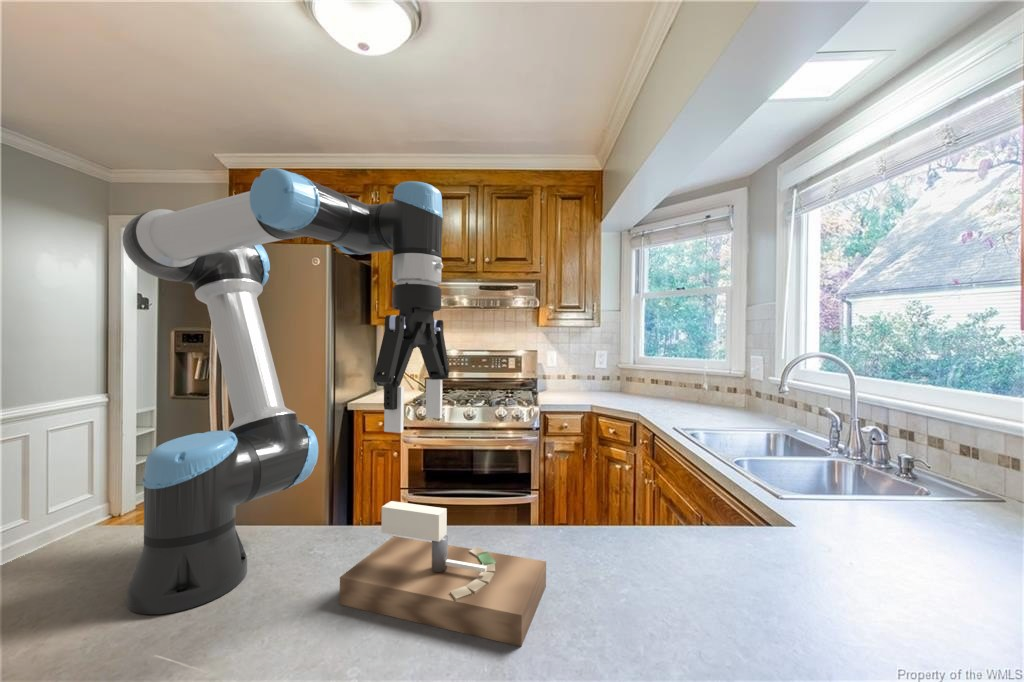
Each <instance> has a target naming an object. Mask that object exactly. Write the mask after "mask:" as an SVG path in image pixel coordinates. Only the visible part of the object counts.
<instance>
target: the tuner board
mask: <svg viewBox="0 0 1024 682" xmlns="http://www.w3.org/2000/svg"><path fill="white" fill-rule="evenodd" d="M448 559H449V560H455V561H461V562H466V563H472V564H478V565H483V566H487V571H486V572H479V571H474V570H468V569H463V568H457V567H452V566H447V569H446V570H444V571H441V572H436V571H433V570H432V541H428V540H427V541H425V540H422V539H416V538H415V539H414V538H410V537H408V538H407V537H404V536H398V535H395V536H394V535H393V536H391V537H390V538H389V539H388V540H387V541H385V542H384V543H383V544H381V545H380V546H378V547H377V548H376V549H375V550H374V551H372V552H370V554H369V555H367V556H365V558H363V559H361V560H360V561H358V563H356V564H355V565H354V566H352V567H351V568H350V569H349V570H347V571H346V572H344V573H343V574H342V575H341V576H339V605H341V606H345V607H350V608H354V609H358V610H363V611H367V612H372V613H375V614H378V615H379V614H381V615H384V616H388V617H393V618H398V619H402V620H404V621H410V622H415V623H418V624H423V625H427V626H432V627H436V628H439V629H445V630H448V631H453V632H458V633H461V634H466V635H470V636H473V637H479V638H483V639H488V640H491V641H495V642H496V641H497V642H500V643H505V644H508V645H512V646H518V647H522V646H523V644H524V641H525V639H526V637H527V634H528V631H529V630H530V626H531V624H532V622H533V620H534V617H535V614H536V612H537V609H538V607H539V604H540V603H541V599H542V597H543V595H544V592H545V589H546V588H547V561H546V560H540V559H533V558H527V557H522V556H517V555H511V554H510V555H509V554H505V553H498V552H492V551H487V550H485V549H483V548H481V547H480V546H477V547H475V548H468V547H462V546H456V545H455V546H454V545H451V544H450V545H449V544H448Z"/></svg>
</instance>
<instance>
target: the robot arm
mask: <svg viewBox="0 0 1024 682" xmlns="http://www.w3.org/2000/svg"><path fill="white" fill-rule="evenodd" d="M442 196H443V195H442V193H441V191H440V190H439V189H438V188H437V187H435V186H433V185H432V184H429V183H426V182H422V181H403V182H400V183H399V184H398V185H397V184H396V185H395V186H394V189H393V195H392V201H389V202H383V203H378V204H367V203H365V202H362V201H360V200H357V199H355V198H353V197H350V196H348V195H346V194H343V193H340V191H339V192H338V191H336V190H333V189H331V188H329V187H327V186H324V185H322V184H320V183H317V182H314V181H313V180H311V179H309V178H307V177H306V176H304V175H302V174H298V173H296V172H291V171H288V170H286V169H282V168H277V167H270V168H266V169H264V170H262V171H261V172H260V175H259V176H257V177H255V178H254V180H253V181H252V185H251V188H250V190H249V191H245V192H241V193H238V194H235V195H231V196H228V197H223V198H218V199H216V200H212V201H208V202H205V203H201V204H196V205H194V206H190V207H187V208H183V209H180V210H176V211H174V210H171V209H166V208H158V209H153V210H150V211H146V212H143V213H141V214H138V215H136V216H135V217H133V218H131V219H130V220H129V221H128V223H127V224H126V225H125V227H124V230H123V232H122V246H123V248H124V252H125V253H126V254H127V257H128V258H129V259H130V260H131V262H132V263H133V264H134V265H135V266H137V267H138V268H139V269H141V270H142V271H143V272H145V273H147V274H149V275H151V276H154V277H155V278H158V279H161V280H165V281H169V282H170V281H172V282H177V283H185V284H190V285H192V287H193V292H194V296H195V298H196V299H197V300H198V301H199V302H201V303H203V304H206V306H207V311H208V313H209V315H208V316H209V319H210V322H211V327H212V330H213V332H212V333H213V335H214V339H215V345H216V349H217V352H218V356H219V360H220V364H221V370H222V373H223V377H224V382H225V386H226V390H227V394H228V398H229V403H230V407H231V411H232V416H233V422H232V424H231V425H230V426H229V427H228V429H227V430H211V431H205V432H203V433H201V432H197V433H192V434H188V435H185V436H181V437H177V438H173V439H171V440H168V441H166V442H163V443H161V444H159V445H158V446H156V447H155V448H154V449H152V450H151V451H150V453H148V455H147V456H146V459H145V465H144V472H143V477H142V485H143V547H142V551H141V552H140V556H139V558H138V561H137V563H136V566H135V569H134V571H133V575H132V577H131V579H130V582H129V584H128V587H127V595H126V596H127V597H126V599H127V600H126V604H127V608H128V609H129V611H132V612H134V613H137V614H142V615H164V614H170V613H172V614H173V613H175V612H180V611H185V610H189V609H192V608H196V607H198V606H201V605H205V604H206V603H209V602H211V601H214V600H216V599H219V598H220V597H221V596H224V595H225V594H227V593H228V592H230V591H232V590H233V589H234V588H236V587H237V586H239V585H240V584H241V582H242V581H244V579H245V578H246V576H247V574H248V556H247V553H246V552H245V549H244V547H243V544H242V541H241V538H240V536H239V533H238V531H237V529H236V512H237V511H236V510H237V509H236V508H237V506H240V505H243V504H245V503H249V502H251V501H254V500H257V499H260V498H263V497H265V496H268V495H271V494H275V493H277V492H281V491H285V490H287V489H290V488H291V487H293V486H296V485H298V484H300V483H303V482H304V481H305V480H306V479H308V478H309V477H310V476H311V474H312V473H313V471H314V468H315V466H316V465H317V462H318V457H319V442H318V437H317V436H316V434H315V432H314V430H313V429H311V428H310V426H309V425H307V424H304V423H300V422H299V421H298V417H297V413H296V412H295V411H294V410H292V409H290V408H287V407H286V406H285V402H284V398H283V393H282V390H281V386H280V382H279V378H278V375H277V371H276V367H275V364H274V359H273V355H272V352H271V348H270V343H269V340H268V337H267V336H268V335H267V331H266V328H265V324H264V320H263V316H262V313H261V309H260V306H259V302H258V297H259V296H260V295H261V294H262V293H263V290H264V289H263V288H264V286H265V285H266V283H267V282H268V280H269V278H270V277H269V276H270V274H269V273H268V272H270V270H271V265H270V264H271V263H270V259H269V256H268V253H267V251H266V249H265V247H264V246H263V245H264V244H269V243H274V242H278V241H279V242H280V241H285V240H286V241H287V240H291V239H296V238H297V239H298V238H302V237H303V238H304V237H307V238H312V239H316V240H318V241H323V242H328V243H330V244H332V245H334V247H336V248H337V249H338V250H339V251H340V252H341V253H343V254H346V255H359V256H361V255H363V256H364V255H366V254H367V255H368V254H373V253H383V252H391V251H393V252H392V275H391V276H392V277H391V278H392V279H391V280H392V282H393V283H395V285H394V286H393V287H392V300H391V301H392V305H391V307H392V308H393V310H396V311H398V312H399V313H398V314H397V315H396V314H395V315H394V314H393V315H388V314H387V315H386V316H385V317H384V333H383V336H382V340H381V341H382V342H381V344H380V347H379V348H380V349H379V353H378V357H377V360H376V365H375V369H374V373H373V378H372V379H373V382H374V383H376V385H377V386H378V387H383V415H384V418H383V420H384V421H383V432H385V433H396V434H403V433H404V425H405V424H404V423H405V422H404V420H405V419H404V417H405V416H404V414H405V411H404V410H405V386H401V383H402V381H403V378H404V376H405V373H406V370H407V367H408V365H409V362H410V359H411V356H412V353H413V352H414V349H416V348H418V349H419V351H420V354H421V356H422V360H423V362H424V366H425V368H426V372H427V374H428V377H429V378H427V379H425V381H426V382H425V418H427V419H428V418H429V419H442V418H443V380H448V379H449V377H450V375H449V374H450V366H449V361H448V360H449V359H448V354H447V348H446V342H445V341H446V340H445V334H444V321H443V319H435V318H434V313H435V312H438V311H441V309H442V296H443V295H442V294H443V293H442V288H441V287H439V285H441V283H442V271H443V270H442V269H444V264H443V262H442V258H443V257H442V248H443V247H442V242H443V240H442V239H443V222H444V221H443V220H444V215H443V197H442Z"/></svg>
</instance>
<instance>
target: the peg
mask: <svg viewBox="0 0 1024 682" xmlns="http://www.w3.org/2000/svg"><path fill="white" fill-rule="evenodd" d="M447 510H448V509H447V508H446V507H439V506H438V507H436V506H431V505H430V506H429V505H422V504H415V503H410V502H409V503H408V502H402V501H401V502H400V501H394V500H391V501H389V502H387V503H385V504H384V505H382V506H381V533H384V534H390V535H395V536H400V537H406V538H407V537H408V538H412V539H414V538H415V539H418V540H424V541H425V540H427V541H430V542H432V570H433V571H436V572H441V571H444V570H446V569H447V566H452V567H457V568H463V569H468V570H474V571H479V572H486V571H487V566H483V565H478V564H472V563H466V562H461V561H455V560H449V559H448V545H449V543H448V542H449V541H448V539H449V537H448V535H447V533H448V532H447V530H448V529H447V527H448V526H447V521H448V520H447V518H448V517H447V515H448V514H447V513H448V511H447Z"/></svg>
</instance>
